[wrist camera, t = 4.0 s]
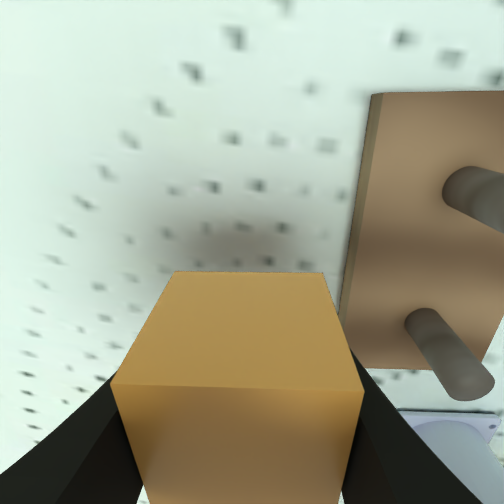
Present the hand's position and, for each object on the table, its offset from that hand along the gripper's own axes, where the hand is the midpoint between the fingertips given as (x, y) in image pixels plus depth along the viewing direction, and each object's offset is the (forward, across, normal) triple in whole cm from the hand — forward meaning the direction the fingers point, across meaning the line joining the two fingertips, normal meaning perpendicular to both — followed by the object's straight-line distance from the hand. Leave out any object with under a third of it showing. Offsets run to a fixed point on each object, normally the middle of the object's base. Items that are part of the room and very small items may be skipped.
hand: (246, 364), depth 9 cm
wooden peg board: (+9, -10, 0) cm, 13 cm away
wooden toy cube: (+2, 0, 0) cm, 2 cm away
